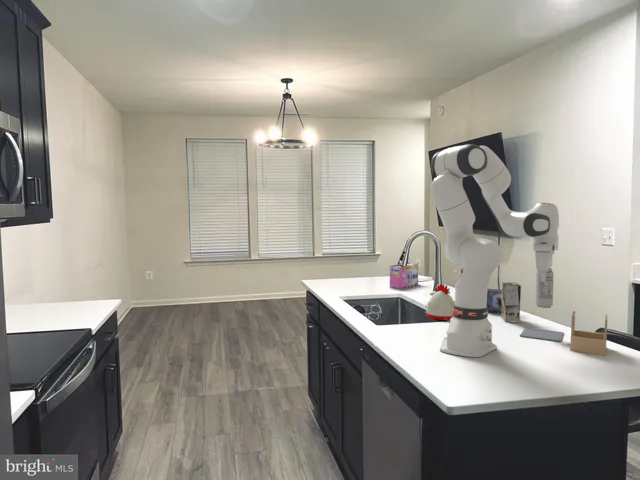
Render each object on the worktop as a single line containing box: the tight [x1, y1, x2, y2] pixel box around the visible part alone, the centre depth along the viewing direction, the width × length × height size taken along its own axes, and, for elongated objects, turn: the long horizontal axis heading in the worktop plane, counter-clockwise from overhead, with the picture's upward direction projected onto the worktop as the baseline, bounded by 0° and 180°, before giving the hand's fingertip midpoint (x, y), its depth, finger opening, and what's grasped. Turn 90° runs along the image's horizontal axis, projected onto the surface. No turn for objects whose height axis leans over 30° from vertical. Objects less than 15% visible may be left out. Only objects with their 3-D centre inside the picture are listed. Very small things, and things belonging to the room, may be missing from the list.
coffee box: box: [500, 282, 522, 323], centre depth 206 cm, size 9×6×16 cm
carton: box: [569, 310, 608, 356], centre depth 164 cm, size 11×11×12 cm
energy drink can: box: [535, 267, 554, 309], centre depth 180 cm, size 6×6×15 cm
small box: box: [487, 288, 502, 314], centre depth 222 cm, size 11×6×10 cm, turn 68°
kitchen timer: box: [425, 283, 455, 321], centre depth 212 cm, size 14×14×15 cm
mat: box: [519, 327, 564, 343], centre depth 182 cm, size 14×14×1 cm
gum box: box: [389, 262, 419, 289], centre depth 295 cm, size 24×8×14 cm, turn 139°
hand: (544, 280), depth 180 cm, fingers closed on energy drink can, 6 cm apart
